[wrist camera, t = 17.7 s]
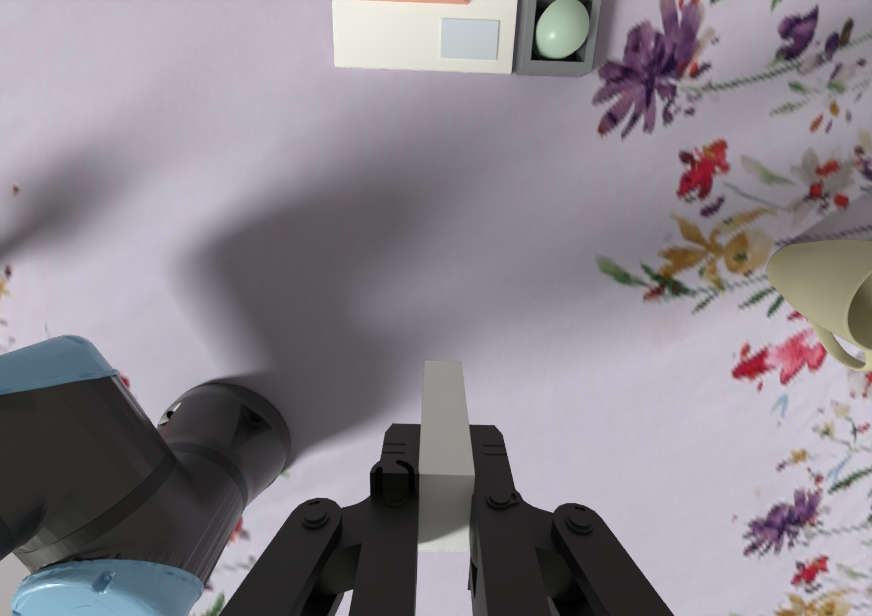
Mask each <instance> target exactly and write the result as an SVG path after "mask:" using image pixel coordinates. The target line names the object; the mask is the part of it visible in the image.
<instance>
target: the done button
mask: <svg viewBox="0 0 872 616" xmlns="http://www.w3.org/2000/svg"><path fill="white" fill-rule="evenodd" d="M588 31H589V16H588V13H587V10H586V8H585V7H584V6H583V4H582V3H581V2H579V1H578V0H556V1H554V2H553V3H552V4H551V5H549V7H548V8H547V9H546V10H545V11H544V13H543V14H542V15H541V17H540V18H539V19H538V20H537V22H536V23H535V25H534V31H533V42H532V48H533V50H534V52H535V54H536V55H537V56H538V57H539V58H540V59H541V60H543V61H561V60H563V59H564V58H566V57H567V56H568V55H570V54H571V53H573V52H574V51H576V50H577V49H578V48H579V47H580V46H581V45H582V44H583V43H584V41H585V39H586V37H587V35H588Z"/></svg>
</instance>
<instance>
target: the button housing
mask: <svg viewBox="0 0 872 616" xmlns="http://www.w3.org/2000/svg"><path fill="white" fill-rule="evenodd" d="M554 1H556V0H522V8H521V19H520V31H519V42H518V53H517V65H516V75H536V76H561V77H582V76H584V75H586V74H588V73H590V72H591V71H592V64H593V57H594V50H595V43H596V36H597V28H598V21H599V14H600V7H601V0H578V1H579V2H581V3H582V4H583V6H584V7H585V8H586V10H587V13H588V16H589V31H588V35H587V37H586V39H585V41H584V43H583V44H582V45H581V46H580V47H579V48H578V49H577V50H576V57H575V62H563V61H538V60H531V52H532V42H533V31H534V21H535V11H536V8H548V7H549V5H551V4H552V3H553V2H554Z"/></svg>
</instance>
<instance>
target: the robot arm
mask: <svg viewBox="0 0 872 616" xmlns="http://www.w3.org/2000/svg"><path fill="white" fill-rule="evenodd" d="M119 374H120V373H119V371H118V370H116V369H113V368H112V367H111V366H110V365H109V363H108V362H107V361H106V360H105V358H104V357H103V356H102V355H101V353H100V352H99V351H98V350H97V348H96V347H95V346H94V345H93V344H92V343H91V342H90V341H89V340H87V339H85V338H83V337H80V336H75V335H62V336H58V337H54V338H51V339H48V340H45V341H42V342H39V343H36V344H33V345H30V346H27V347H24V348H21V349H18V350H15V351H12V352H9V353H6V354H3V355H0V561H1V560H2V559H3V558H5V557H6V556H7V555H8V554H10V553H11V552H13V553H14V554H15V555H16V556H17V558H19V560H21V562H22V563H23V564H24V565H25V566H26V567H27V568H28V570H29V571H30V572H31V575H29V576H27V577H26V578H25V579H23V580H22V582H21V583H20V584H19V586H18V588H17V592H16V593H15V594H14V596H13V599H12V601H11V608H12V616H187V615H188V613H189V612H190V610H191V608H192V607H193V605H194V603H195V602H196V601H198V599H199V598H200V597H201V596H202V593H203V591H204V590H203V589H204V587H205V585H206V583H207V581H208V579H209V578H210V576H211V574H212V572H213V570H214V568H215V566H216V564H217V562H218V560H219V558H220V556H221V554H222V552H223V550H224V548H225V546H226V544H227V542H228V540H229V538H230V536H231V534H232V533H233V531H234V529H235V527H236V525H237V523H238V521H239V519H240V517H241V515H242V513H243V511H244V509H245V507H246V506H247V505H249V504H250V503H251V502H252V501H253V500H254V499H255V498H256V497H257V496H258V495H259V494H260V493H261V492H262V491H264V490H265V489H266V488H267V487H269V486H270V485H271V484H272V483H273V482H274V481H275V480H276V478H277V477H278V476H279V474H280V472H281V471H282V469H283V466H284V464H285V462H286V460H287V458H288V455H289V451H290V435H289V431H288V428H287V426H286V423H285V421H284V420H283V418H282V416H281V415H280V413H279V412H278V411H277V410H276V409H275V408H274V407H273V406H272V405H271V404H270V403H269V402H268V401H267V400H265V399H264V398H262V397H261V396H259V395H258V394H256V393H254V392H252V391H250V390H247V389H245V388H242V387H238V386H234V385H228V384H208V385H203V386H199V387H196V388H193V389H191V390H189V391H187V392H186V393H184V394H183V395H182V396H180V397H179V398H178V399H177V400H176V401H175V402H174V403H173V404H172V405H171V406H170V407H169V408H168V409H167V410H166V411H165V413H164V414H163V416H162V417H161V419H160V421H159V424H158V426H157V428H155V427H154V425H153V424H152V422H151V421H150V419H149V418H148V417H147V415H146V414H145V412H144V411H143V409H142V408H141V407H140V405H139V404H138V402H137V401H136V399H135V398H134V397H133V395H132V394H131V392H130V391H129V389H128V388H127V386H126V385H125V384H124V382H123V381H122V379H121V378H120V376H119ZM469 544H470V555H471V556H470V568H469V581H468V590H471V598H472V611H473V616H674V615H673V613H672V612H671V611H670V609H669V608H668V607H667V605H666V604H665V603H664V601H663V600H662V599H661V597H660V596H659V595H658V593H657V592H656V591H655V589H654V588H653V587H652V585H651V584H650V583H649V581H648V580H647V579H646V577H645V576H644V574H643V573H642V572H641V570H640V569H639V568H638V566H637V565H636V564H635V562H634V561H633V560H632V558H631V557H630V556H629V554H628V553H627V552H626V550H625V549H624V548H623V546H622V545H621V544H620V542H619V541H618V540H617V538H616V537H615V535H614V534H613V533H612V531H611V530H610V529H609V527H608V526H607V525H606V523H605V522H604V521H603V519H602V518H601V517H600V516H599V515H598V514H597V513H596V512H595V511H593V510H592V509H590V508H588V507H586V506H584V505H580V504H576V503H566V504H563V505H560V506H558V508H557V509H556V510H555V511H554V513H552V512H548V511H545V510H541V509H538V508H536V507H533V506H531V505H530V504H528V503H526V502H525V501H524V500H523V499H522V497H521V495H520V493H519V492H517V491H516V489H515V486H514V482H513V478H512V473H511V469H510V465H509V460H508V456H507V452H506V447H505V443H504V439H503V435H502V434H501V432H500V431H499V430H498V429H497V428H496V427H495V425H469V421H468V413H467V404H466V396H465V388H464V379H463V371H462V363H461V361H436V360H424V378H423V397H422V415H421V424H392V425H391V426H390V428H389V429H388V430H387V431H386V432H385V437H384V442H383V448H382V454H381V459H380V461H378V462H377V463H376V464H375V465H374V466H373V467H372V469H371V471H370V496H369V497H368V498H366V499H365V500H363V501H362V502H360V503H358V504H355V505H352V506H347V507H343V508H340V506H339V505H338V504H337V503H336V502H335V501H333V500H330V499H328V498H315V499H311V500H307V501H305V502H304V503H302V504H300V505H299V506H298V507H297V508H296V509H295V510H294V511H293V512H292V513H291V514H290V516H289V517H288V519H287V520H286V521H285V523H284V524H283V526H282V527H281V528H280V530H279V531H278V533H277V534H276V535H275V537H274V538H273V540H272V541H271V542H270V544H269V545H268V547H267V548H266V550H265V551H264V552H263V554H262V555H261V557H260V558H259V559H258V561H257V562H256V564H255V565H254V566H253V568H252V569H251V571H250V572H249V573H248V575H247V576H246V578H245V579H244V581H243V582H242V583H241V585H240V586H239V588H238V589H237V590H236V592H235V593H234V595H233V596H232V597H231V599H230V600H229V602H228V603H227V604H226V606H225V607H224V609H223V610H222V612H221V613H220V614H219V616H335V614H336V612H337V609H338V607H339V605H340V603H341V601H342V599H343V596H344V592H346V591H349V590H352V589H353V595H352V600H351V606H350V611H349V616H415V609H416V585H417V555H418V551H438V552H469Z"/></svg>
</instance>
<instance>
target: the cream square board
mask: <svg viewBox="0 0 872 616" xmlns="http://www.w3.org/2000/svg"><path fill="white" fill-rule="evenodd" d="M332 11H333V36H334V61H335V67H336V68H358V69H383V70H409V71H434V72H459V73H485V74H511V71H512V59H513V47H514V35H515V23H516V12H517V0H332Z"/></svg>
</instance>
